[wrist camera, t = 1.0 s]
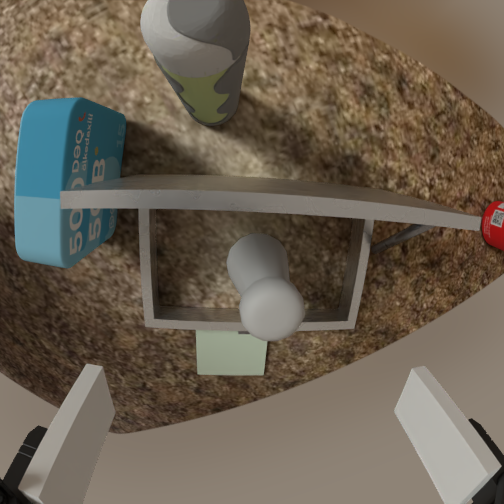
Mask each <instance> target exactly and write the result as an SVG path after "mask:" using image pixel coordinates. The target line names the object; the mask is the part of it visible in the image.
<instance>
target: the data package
mask: <svg viewBox="0 0 504 504" xmlns="http://www.w3.org/2000/svg"><path fill="white" fill-rule="evenodd" d="M125 134H126V119H125V116H124V115H123V114H121V113H119V112H117V111H114V110H112V109H109V108H107V107H105V106H102V105H100V104H97V103H95V102H92V101H90V100H87V99H85V98H61V99H48V100H37V101H33V102H31V103H30V104H29V105H28V106H27V107H26V109H25V110H24V112H23V115H22V118H21V124H20V131H19V139H18V148H17V158H16V172H15V197H14V219H15V244H16V250H17V253H18V255H19V257H20V258H21V259H22V260H24V261H29V262H34V263H40V264H45V265H51V266H56V267H62V268H71V267H72V266H74V265H75V264H76V263H77V262H79V261H80V260H81V259H82V258H84V257H85V256H86V255H88V254H89V253H90V252H91V251H93V250H94V249H95V248H97V247H98V246H99V245H101V244H102V243H103V242H105V241H106V240H107V239H109V238H110V237H111V236H112V235H113V233H114V231H115V227H116V222H117V209H118V208H83V209H61V203H60V191H64V190H68V189H72V188H76V187H80V186H85V185H89V184H94V183H98V182H103V181H108V180H112V179H117V178H120V174H121V165H122V156H123V148H124V141H125Z"/></svg>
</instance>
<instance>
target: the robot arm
mask: <svg viewBox="0 0 504 504" xmlns="http://www.w3.org/2000/svg"><path fill="white" fill-rule="evenodd" d="M394 412H395V414H396V416H397V418H398V419H399V421H400V423H401V425H402V426H403V428H404V430H405V432H406V434H407V435H408V437H409V439H410V441H411V442H412V444H413V446H414V448H415V450H416V451H417V453H418V455H419V457H420V459H421V460H422V462H423V464H424V466H425V468H426V470H427V471H428V473H429V475H430V477H431V479H432V481H433V483H434V485H435V487H436V488H437V490H438V492H439V494H440V496H441V498H442V500H443V502H444V504H466V503H467V502H468V501H469V500H470V499H471V498H472V500H473V503H472V504H504V455H503V454H502V452H501V451H500V450H499V448H498V447H497V446H496V444H495V443H494V442H493V441H491V438H490V436H489V435H488V434H486V431H485V430H484V429H483V427H482V426H481V425H480V424H479V423H477V422H476V421H475V420H473V419H469V420H468V419H467V418H466V417H465V415H464V414H463V413H462V411H461V410H460V409H459V408H458V406H457V405H456V404H455V403H454V401H453V400H452V399H451V397H450V396H449V395H448V394H447V392H445V390H444V389H443V387H442V386H441V385H440V384H439V382H438V381H437V380H436V379H435V378H434V376H433V375H432V374H431V373H430V371H429V370H428V369H427V368H426V367H425V366H421V367H415V368H412V369H411V372H410V374H409V377H408V379H407V382H406V385H405V387H404V389H403V392H402V394H401V396H400V398H399V401H398V403H397V405H396V407H395V409H394ZM115 413H116V412H115V409H114V406H113V402H112V399H111V395H110V392H109V388H108V385H107V381H106V377H105V373H104V369H103V366H98V365H92V364H86V366H85V367H84V369H83V370H82V372H81V374H80V375H79V377H78V379H77V380H76V382H75V383H74V385H73V387H72V388H71V390H70V392H69V393H68V395H67V397H66V398H65V400H64V402H63V404H62V405H61V407H60V409H59V411H58V413H57V414H56V416H55V418H54V419H53V421H52V423H51V425H50V426H49V428H48V429H47V428H44V427H41V426H37V427H36V428H35V429H33V430H32V431H31V432H30V433H29V434H28V435H27V437H26V439H25V440H24V442H23V445H22V446H21V447H20V449H19V453H17V455H16V457H15V458H14V460H13V462H12V464H11V466H10V468H9V469H8V471H7V473H6V475H5V477H4V479H3V480H1V479H0V504H83V501H84V498H85V495H86V492H87V489H88V486H89V483H90V480H91V477H92V474H93V471H94V469H95V466H96V463H97V460H98V457H99V455H100V452H101V449H102V446H103V444H104V441H105V438H106V436H107V433H108V431H109V428H110V425H111V423H112V420H113V418H114V415H115Z"/></svg>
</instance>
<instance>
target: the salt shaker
mask: <svg viewBox="0 0 504 504" xmlns="http://www.w3.org/2000/svg"><path fill="white" fill-rule="evenodd" d="M226 263H227V269H228V274H229V277H230V278H231V280H232V282H233V284H234V285H235V287H236V289H237V291H238V292H239V294H240V296H241V297H242V298H241V301H240V305H239V310H240V316H241V322H242V324H243V326H244V327H245V328H246V330H247V331H248V332H249V333H250V334H251V335H252V336H253V337H256V338H258V339H260V340H262V341H279V340H281V339H284V338H287V337H289V336H291V335H292V334H293V333H294V332H295V331H296V330H297V329H298V328H299V327H300V325H301V323H302V321H303V318H304V316H305V310H304V301H303V297H302V296H301V294H300V293H299V291H298V290H297V288H296V287H295V285H294V284H293V283H291V282H290V278H289V265H288V258H287V252H286V250H285V249H284V247H283V246H282V244H281V242H280V241H279V240H277V239H275V238H273V237H271V236H269V235H267V234H260V233H251V234H249V235H247V236H244V237H242V238H240V239H239V240H238V241H237V242H236V243H235V244H234V245H233V246H232V247H231V248H230V251H229V255H228V258H227V262H226Z"/></svg>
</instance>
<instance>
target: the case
mask: <svg viewBox="0 0 504 504" xmlns="http://www.w3.org/2000/svg"><path fill="white" fill-rule="evenodd" d="M60 203H61V209H83V208H138V209H139V248H140V268H141V284H142V297H143V308H144V318H145V327H153V328H169V329H188V330H215V331H238V334H250V333H249V332H248V331H247V330H246V328H245V327H244V326H243V324H242V322H241V316H240V310H239V309H228V308H197V307H175V306H159V292H158V272H157V239H156V209H191V210H222V211H247V212H267V213H286V214H302V215H318V216H332V217H346V218H353V220H352V228H351V235H350V242H349V249H348V256H347V263H346V269H345V275H344V281H343V287H342V292H341V298H340V303H339V309H304V310H305V316H304V318H303V321H302V323H301V325H300V327H299V328H298V329H297V330H296V331H312V330H338V329H354V327H355V323H356V318H357V314H358V309H359V305H360V300H361V295H362V290H363V285H364V280H365V274H366V269H367V263H368V257H369V251H370V245H371V239H372V232H373V225H374V220H382V221H393V222H403V223H414V224H413V225H411V226H409V227H408V228H406V229H404V230H402V231H400V232H398V233H396V234H394V235H392V236H390V237H389V238H387V239H385V240H383V241H381V242H379V243H377V244H375V245H373V246H372V247H371V251H372V252H373V253H374V254H377V253H379V252H382V251H384V250H386V249H388V248H390V247H393V246H395V245H397V244H399V243H401V242H403V241H406V240H408V239H410V238H412V237H414V236H416V235H418V234H420V233H423V232H425V231H427V230H429V229H431V228H433V227H435V226H442V227H451V228H459V229H468V230H476V231H479V229H480V223H481V217H478V216H475V215H472V214H469V213H466V212H462V211H459V210H456V209H452V208H449V207H446V206H442V205H439V204H435V203H432V202H428V201H424V200H421V199H417V198H413V197H409V196H405V195H401V194H397V193H393V192H389V191H385V190H381V189H376V188H368V187H360V186H351V185H343V184H333V183H323V182H313V181H302V180H289V179H276V178H261V177H243V176H221V175H185V174H138V175H133V176H127V177H122V178H117V179H112V180H108V181H103V182H98V183H94V184H89V185H85V186H80V187H76V188H72V189H68V190H64V191H60Z"/></svg>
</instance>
